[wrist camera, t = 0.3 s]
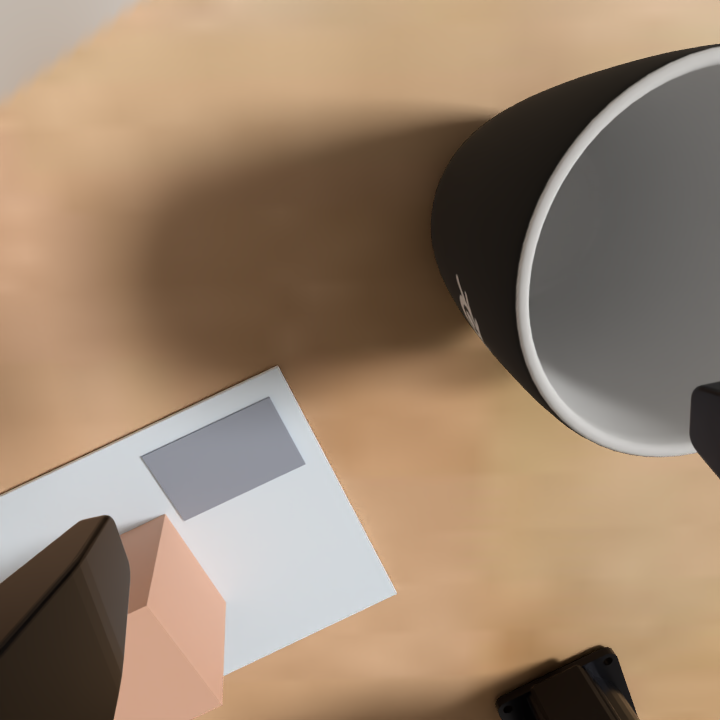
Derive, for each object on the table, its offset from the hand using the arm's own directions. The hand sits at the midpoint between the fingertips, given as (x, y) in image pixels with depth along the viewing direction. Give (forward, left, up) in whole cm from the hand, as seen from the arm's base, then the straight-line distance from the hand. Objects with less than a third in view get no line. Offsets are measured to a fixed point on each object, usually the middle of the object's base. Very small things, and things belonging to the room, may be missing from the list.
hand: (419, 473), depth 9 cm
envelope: (-8, +12, -14) cm, 20 cm away
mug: (-2, -8, -14) cm, 16 cm away
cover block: (-8, +12, -14) cm, 20 cm away
